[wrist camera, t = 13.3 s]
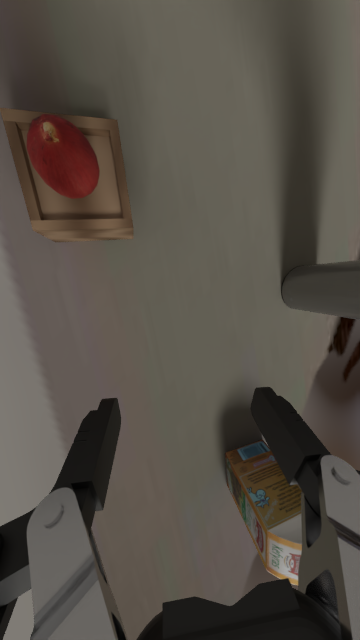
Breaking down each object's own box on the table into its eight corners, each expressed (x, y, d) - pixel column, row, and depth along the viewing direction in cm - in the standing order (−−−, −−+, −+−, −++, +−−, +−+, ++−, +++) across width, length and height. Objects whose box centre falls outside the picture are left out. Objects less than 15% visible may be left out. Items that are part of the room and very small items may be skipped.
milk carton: (262, 470, 47) (341, 586, 29) (227, 484, 45) (289, 620, 27) (262, 439, 45) (348, 544, 27) (225, 452, 42) (293, 578, 24)
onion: (37, 167, 19) (-27, 91, 12) (83, 144, 20) (51, 58, 12) (73, 218, 21) (38, 182, 13) (114, 196, 22) (103, 149, 14)
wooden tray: (120, 156, 25) (117, 119, 19) (133, 238, 28) (133, 227, 22) (33, 151, 23) (-1, 107, 17) (55, 242, 25) (33, 230, 19)
